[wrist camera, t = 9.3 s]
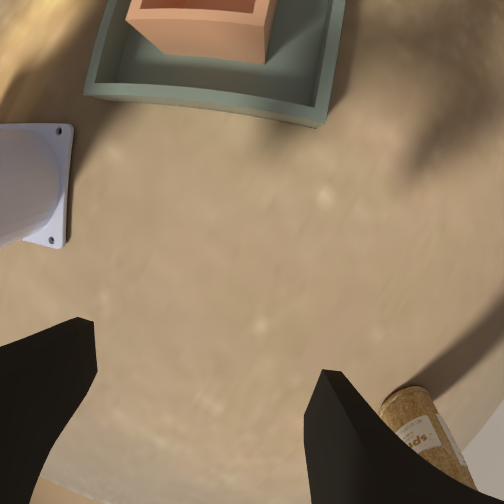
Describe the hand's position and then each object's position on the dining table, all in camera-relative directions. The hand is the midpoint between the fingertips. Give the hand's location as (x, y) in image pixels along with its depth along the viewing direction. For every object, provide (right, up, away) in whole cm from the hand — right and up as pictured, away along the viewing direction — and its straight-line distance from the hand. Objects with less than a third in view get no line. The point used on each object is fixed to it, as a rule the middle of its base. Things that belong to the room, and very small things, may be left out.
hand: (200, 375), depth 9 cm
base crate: (0, +18, +5) cm, 19 cm away
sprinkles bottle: (+14, -8, +12) cm, 20 cm away
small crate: (0, +18, +4) cm, 19 cm away
